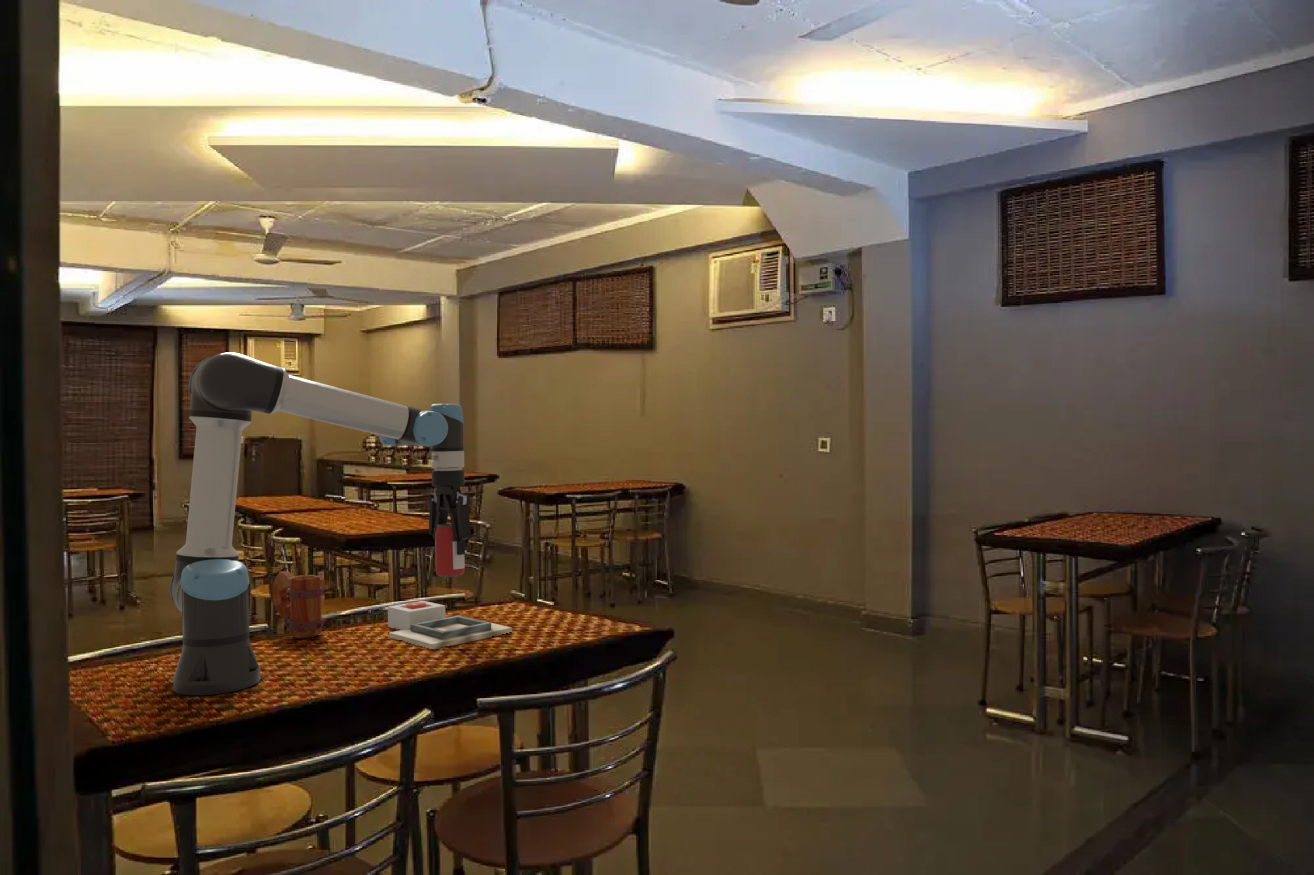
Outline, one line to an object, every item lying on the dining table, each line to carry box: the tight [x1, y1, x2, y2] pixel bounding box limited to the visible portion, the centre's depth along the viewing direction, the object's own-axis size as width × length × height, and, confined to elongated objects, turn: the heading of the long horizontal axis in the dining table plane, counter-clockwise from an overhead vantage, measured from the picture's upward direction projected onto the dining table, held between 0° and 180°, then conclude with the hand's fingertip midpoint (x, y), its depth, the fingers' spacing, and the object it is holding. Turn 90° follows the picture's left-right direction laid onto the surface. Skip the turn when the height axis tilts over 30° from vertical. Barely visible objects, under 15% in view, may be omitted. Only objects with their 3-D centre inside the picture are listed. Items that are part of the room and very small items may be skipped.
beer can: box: [434, 522, 466, 578], centre depth 220 cm, size 7×7×12 cm
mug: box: [272, 570, 327, 640], centre depth 222 cm, size 15×8×15 cm, turn 62°
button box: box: [387, 600, 446, 631], centre depth 231 cm, size 10×10×5 cm
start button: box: [405, 601, 426, 609], centre depth 230 cm, size 5×5×4 cm
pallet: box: [388, 615, 513, 650], centre depth 220 cm, size 22×18×3 cm
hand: (450, 567), depth 220 cm, fingers closed on beer can, 6 cm apart
